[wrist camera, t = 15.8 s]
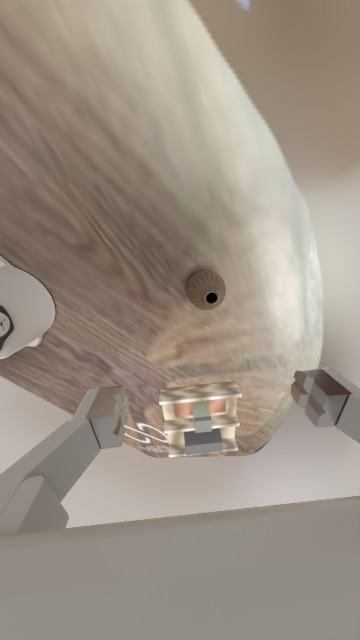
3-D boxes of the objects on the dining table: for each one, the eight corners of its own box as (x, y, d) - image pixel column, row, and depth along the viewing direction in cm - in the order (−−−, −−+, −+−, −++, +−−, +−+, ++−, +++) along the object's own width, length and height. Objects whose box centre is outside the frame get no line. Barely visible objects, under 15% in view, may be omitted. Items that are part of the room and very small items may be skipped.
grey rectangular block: (192, 411, 48) (195, 433, 42) (191, 400, 46) (194, 421, 41) (207, 409, 48) (211, 431, 42) (206, 399, 46) (211, 419, 41)
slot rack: (169, 443, 55) (169, 457, 51) (159, 389, 46) (159, 402, 42) (233, 436, 55) (237, 450, 51) (236, 381, 46) (242, 393, 42)
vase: (213, 305, 37) (224, 322, 29) (181, 298, 36) (184, 313, 28) (224, 273, 35) (240, 282, 27) (190, 264, 34) (197, 270, 26)
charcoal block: (184, 436, 52) (185, 455, 48) (183, 427, 51) (184, 446, 46) (218, 433, 52) (222, 451, 48) (218, 424, 51) (222, 442, 46)
